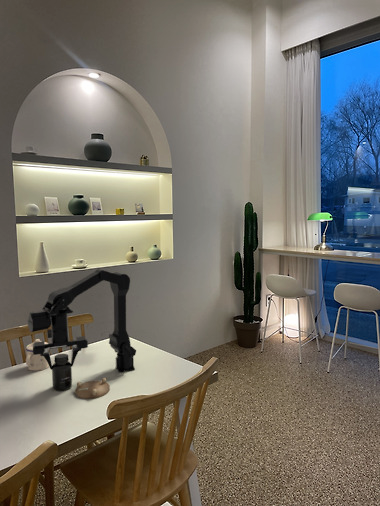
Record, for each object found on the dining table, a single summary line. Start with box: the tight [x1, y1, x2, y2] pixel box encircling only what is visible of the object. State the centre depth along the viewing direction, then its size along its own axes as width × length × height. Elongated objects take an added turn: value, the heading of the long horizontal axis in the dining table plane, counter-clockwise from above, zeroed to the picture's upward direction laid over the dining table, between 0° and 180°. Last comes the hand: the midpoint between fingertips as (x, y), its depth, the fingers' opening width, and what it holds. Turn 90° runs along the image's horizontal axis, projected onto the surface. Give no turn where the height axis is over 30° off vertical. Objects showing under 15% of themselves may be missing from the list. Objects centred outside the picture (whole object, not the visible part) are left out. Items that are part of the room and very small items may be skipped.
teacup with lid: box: [25, 338, 50, 372], centre depth 161 cm, size 12×9×12 cm
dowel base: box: [74, 377, 111, 400], centre depth 141 cm, size 12×12×3 cm
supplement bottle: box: [51, 353, 73, 392], centre depth 144 cm, size 7×7×12 cm
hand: (61, 367), depth 144 cm, fingers closed on supplement bottle, 7 cm apart
